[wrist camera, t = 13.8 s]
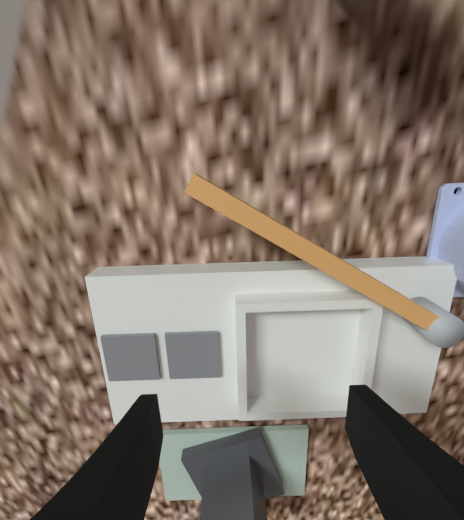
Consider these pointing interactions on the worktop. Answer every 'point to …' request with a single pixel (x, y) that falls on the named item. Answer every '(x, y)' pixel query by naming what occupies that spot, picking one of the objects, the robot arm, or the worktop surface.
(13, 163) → the worktop surface
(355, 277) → the hammer
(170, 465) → the mat
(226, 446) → the plug
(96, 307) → the white panel
